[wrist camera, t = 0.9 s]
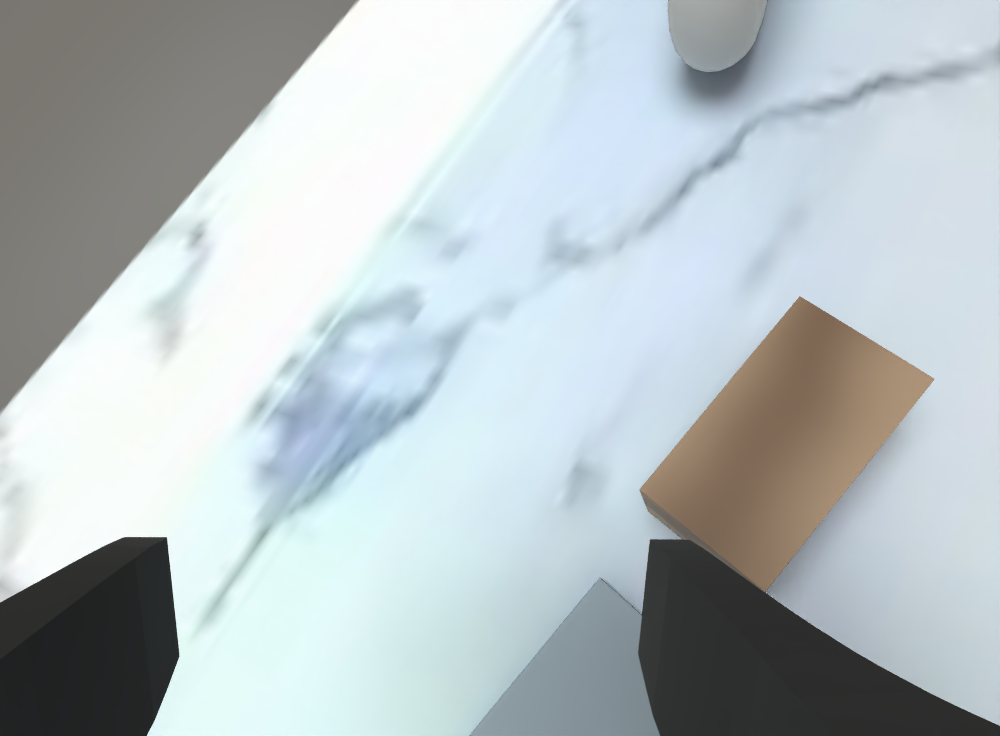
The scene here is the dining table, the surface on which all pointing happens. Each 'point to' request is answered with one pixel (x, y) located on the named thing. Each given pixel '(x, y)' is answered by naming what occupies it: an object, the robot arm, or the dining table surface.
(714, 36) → the donut
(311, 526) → the dining table surface
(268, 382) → the dining table surface
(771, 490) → the walnut block
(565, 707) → the rubber mat
